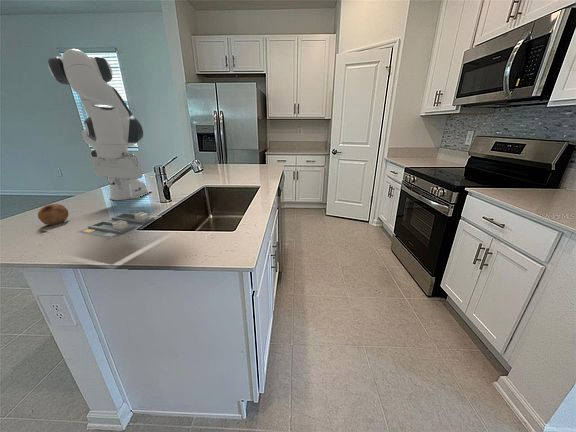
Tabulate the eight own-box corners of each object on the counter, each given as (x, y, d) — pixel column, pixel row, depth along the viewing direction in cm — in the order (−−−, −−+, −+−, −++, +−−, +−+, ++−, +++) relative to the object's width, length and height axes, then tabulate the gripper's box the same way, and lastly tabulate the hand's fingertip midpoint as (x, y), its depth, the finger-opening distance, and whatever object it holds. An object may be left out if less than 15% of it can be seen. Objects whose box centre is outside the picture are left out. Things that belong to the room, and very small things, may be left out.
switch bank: (131, 214, 115) (130, 209, 114) (162, 218, 110) (161, 214, 110) (78, 234, 94) (76, 229, 93) (113, 241, 89) (111, 235, 88)
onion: (58, 233, 102) (45, 217, 95) (39, 225, 103) (25, 209, 96) (78, 218, 108) (67, 202, 101) (60, 211, 109) (49, 195, 102)
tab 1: (120, 227, 98) (118, 219, 96) (128, 228, 97) (126, 220, 95) (113, 230, 95) (111, 221, 94) (121, 231, 94) (119, 223, 93)
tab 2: (141, 218, 107) (139, 211, 105) (148, 219, 106) (147, 212, 104) (135, 221, 104) (133, 213, 103) (142, 222, 103) (141, 214, 102)
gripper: (143, 152, 89) (149, 189, 94) (102, 151, 95) (110, 185, 100) (127, 154, 83) (135, 193, 88) (85, 152, 89) (95, 188, 94)
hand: (122, 189), depth 94 cm, fingers closed
